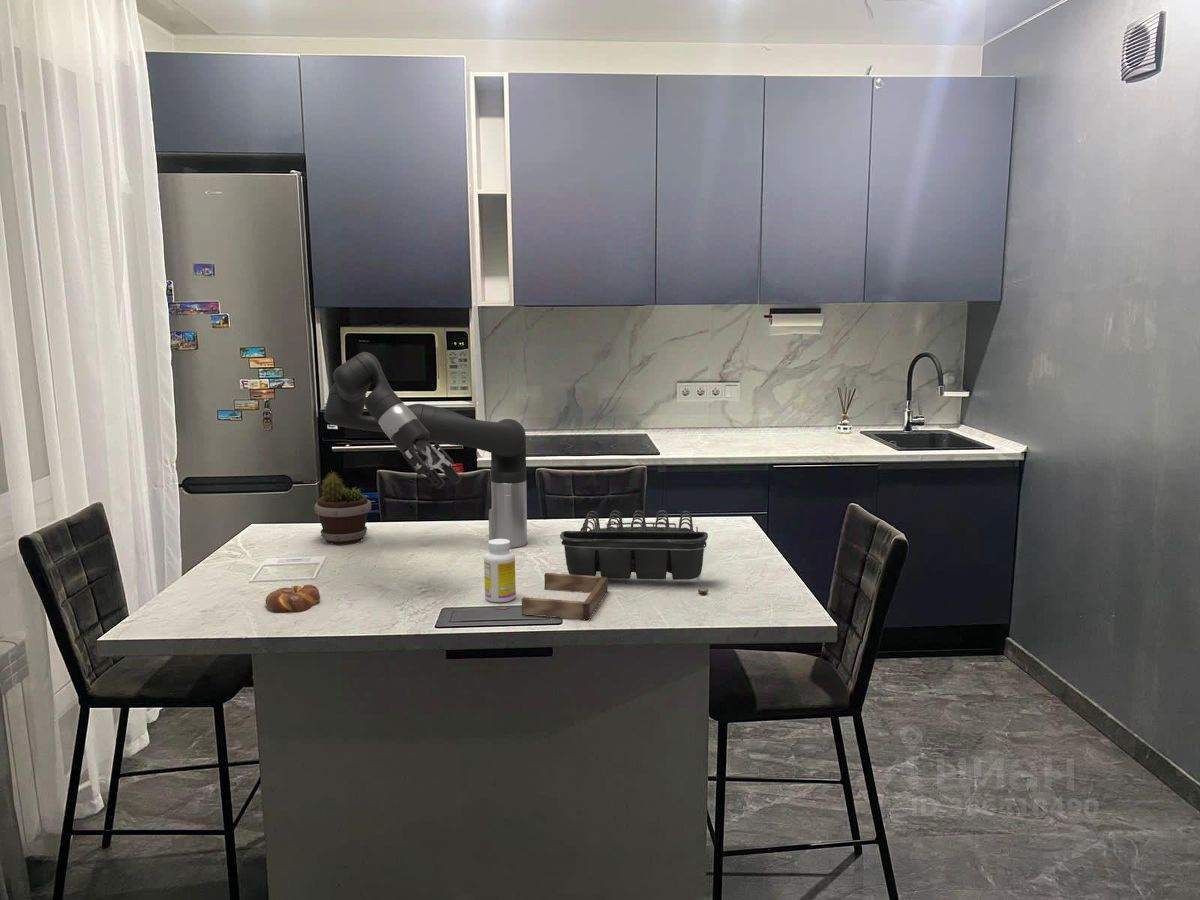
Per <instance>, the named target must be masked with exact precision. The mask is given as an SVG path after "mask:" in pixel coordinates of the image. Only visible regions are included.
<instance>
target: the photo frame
mask: <svg viewBox="0 0 1200 900" xmlns="http://www.w3.org/2000/svg"><path fill="white" fill-rule="evenodd" d="M326 560H327V556H326V555H325V556H324V555H323V556H298V557H297V556H296V557H278V558H277V557H275V558H273V557H271V558H265V559H264V561H262V563H261V564H260V566H259V567H258V568H257V570H256V571H255V572H254V573H253V574H252V576H251V577H250V579H249V580H248V584H249V583H250V584H251V583H252V584H253V583H272V582H273V583H275V582H279V583H280V582H297V581H300V582H301V581H316V578H317V577H318V575H319V573H320V571H321V570H322V568H323V566H324V564H325V562H326ZM311 565H313V566H314V565H316V566H317V565H318V566H317V567H316V570H315V572H314V574H313V576H309V577H308V576H307V577H286V578H282V577H281V578H263V579H262V578H261V579H260V578H259V579H256V578H257V577H258V575H259V574H260V573H261V571H262V570H263V569H264V568H265V567H284V566H288V567H289V566H311Z"/></svg>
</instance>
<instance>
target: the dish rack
mask: <svg viewBox="0 0 1200 900" xmlns="http://www.w3.org/2000/svg"><path fill="white" fill-rule="evenodd" d="M593 513H594V514H593ZM617 513H618V514H617ZM639 513H641V514H639ZM685 513H686V514H685ZM591 516H592V517H591ZM614 516H616V517H614ZM640 517H641V518H640ZM687 517H688V518H687ZM591 520H592V521H593V522H592V521H591ZM614 520H615V521H614ZM635 520H636V521H635ZM637 520H639V521H637ZM661 520H663V521H661ZM685 520H686V521H685ZM616 521H617V522H616ZM640 521H641V522H640ZM678 521H679V523H678V527H677V524H676V523H675V522H670V521H669V514H668V512H667V511H666V510H659V511H657V512H656V518H655V522H652V521H651V522H646V516H645V514H644V511H642V510H635V512H634V513H633V515H632V521H631V522H623V516H622V512H620V511H618V510H613V511H612V512H611V513H610V514H609V518H608V521H607V523H605V526H606V527H601V525H600V519H599V515H598V512H597V511H595V510H590V511H589V512H587V514H586V517H585V519H584V522H583V523H582V526H581V528H580V529H579V530H564V531H561V532H560V534H559V538H560V539H561V540H562V541H561V542H560V544H561V545H562V546H564V555H565V556H564V557H565V563H566V564H565V565H566V568H567V571H568V574H571V575H586V576H597V573H600V576H601V577H608V580H630V579H631V577H632V573H635V575H636V577H635V578H636V580H658V581H661V580H663V581H665V580H667V573H669V574H671V577H672V580H675V581H676V580H680V581H681V580H682V581H684V580H686V581H687V580H695V579H697V578H698V577H700V576H701V573H702V570H703V562H704V554H705V553H704V552H705V548H706V547H707V539H708V538H709V534H708V532H706V531H699V527H698V526H695V528H696V529H695V530H694V524H693V515H692V513H691V512H690V511H688V510H684V511H682V512H681V513H680V517H679V520H678ZM589 524H591V525H592V528H591V527H590V526H589ZM684 524H685V525H688V526H689V528H688V527H683V525H684ZM614 525H615V526H616V527H615V526H614ZM624 525H630V526H624ZM634 525H639V526H634ZM647 525H652V526H647ZM658 525H660V526H658ZM661 525H664V526H661ZM672 526H673V527H672ZM588 529H589V530H588Z"/></svg>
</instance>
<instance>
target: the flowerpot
mask: <svg viewBox="0 0 1200 900" xmlns="http://www.w3.org/2000/svg"><path fill="white" fill-rule="evenodd" d="M330 471H331V473H330V472H329V474H327V475H326V478H324V479H322V480H321V483H323V485H321V487H320V488H321V495H322V496H320V497H319V498H318V499H317V502H316V503H315V504H314V508H313V509H314V510H313V512H314V514H316V515H318V518H319V522H320V524H321V527H322V529H321V530H320V537H322V539H323V540H324V541H325V542H326V543H327V544H330V545H337V546H339V545H340V546H341V545H342V546H343V545H353V544H357V543H359V542H361V541H363V539H364V538H365V536H366V535H367V532H368V531H367V530H368V527H367V526H366V524H367V523H366V522H367V519H368V513H369V512H370V511H372V510H371V509H372V502H371V500H369V499H367V496H366V495H365V494H362V493H361V488H357V486H355V487H353V488H351V489H350V488H349V487H350V486H347V487H346V485H345V484H343V478H342V477H341V476H338V475H337V472H336V471H333V472H332V470H330ZM339 477H340V478H339ZM356 488H357V489H356Z"/></svg>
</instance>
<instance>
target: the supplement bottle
mask: <svg viewBox="0 0 1200 900" xmlns="http://www.w3.org/2000/svg"><path fill="white" fill-rule="evenodd" d="M487 543H488V544H487V547H488V550H489V551H487V552H486V553H485V555H484V557H483V563H484V564H483V565H484V567H483V568H484V569H483V570H484V597H485V600H487V601H488V602H492V603H507V602H510V601H513V600H514V599H515V597H516V595H517V594H516V589H517V588H516V558H515V553H513V551H510V549H511V548H510V541H509V540H507V539H493V540H490V541H489V540H488V542H487Z"/></svg>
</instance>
